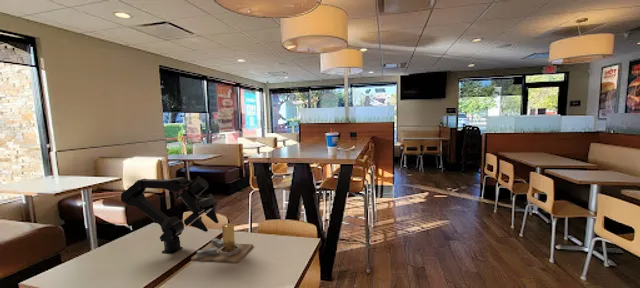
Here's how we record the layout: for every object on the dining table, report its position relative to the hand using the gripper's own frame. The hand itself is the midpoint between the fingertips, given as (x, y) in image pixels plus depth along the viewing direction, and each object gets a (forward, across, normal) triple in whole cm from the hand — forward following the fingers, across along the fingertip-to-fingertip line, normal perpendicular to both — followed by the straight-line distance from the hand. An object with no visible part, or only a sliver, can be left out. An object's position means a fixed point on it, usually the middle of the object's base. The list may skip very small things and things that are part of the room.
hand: (212, 227), depth 130 cm
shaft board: (+12, -2, +3) cm, 13 cm away
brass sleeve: (+13, -2, 0) cm, 13 cm away
